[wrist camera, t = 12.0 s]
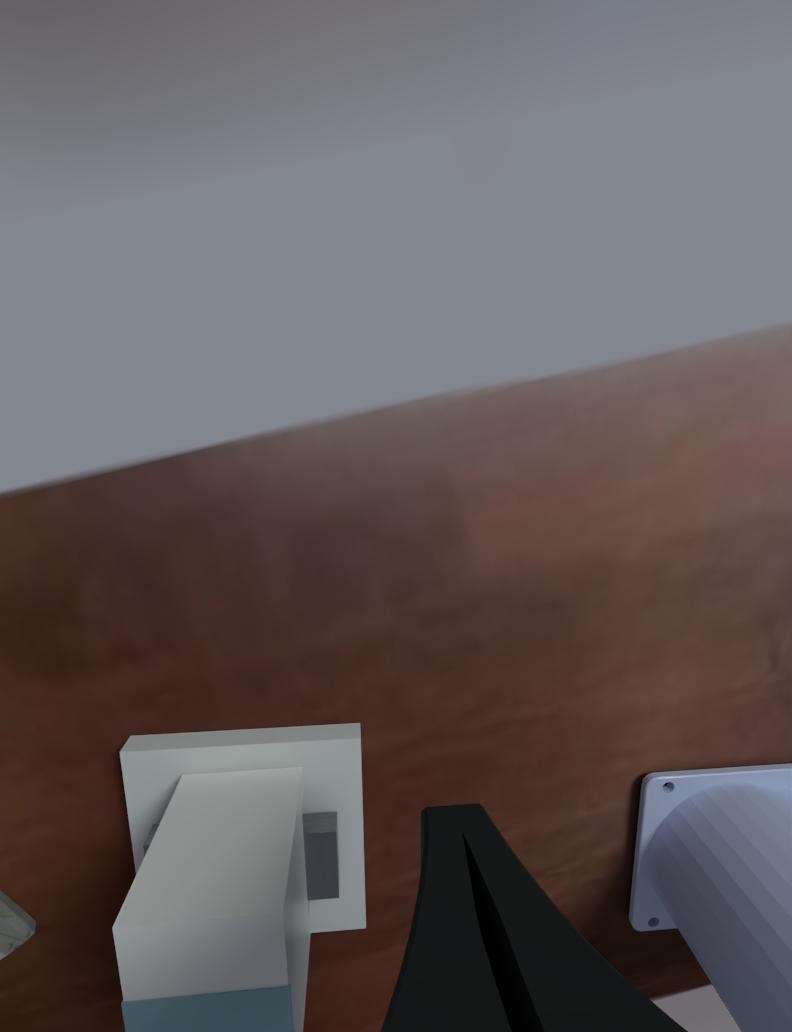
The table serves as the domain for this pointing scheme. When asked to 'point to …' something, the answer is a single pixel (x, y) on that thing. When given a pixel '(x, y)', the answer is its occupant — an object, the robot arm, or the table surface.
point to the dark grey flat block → (312, 854)
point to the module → (220, 910)
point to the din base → (316, 748)
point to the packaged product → (13, 925)
